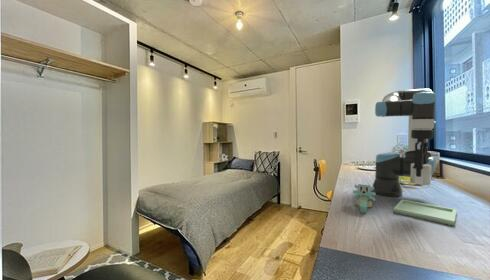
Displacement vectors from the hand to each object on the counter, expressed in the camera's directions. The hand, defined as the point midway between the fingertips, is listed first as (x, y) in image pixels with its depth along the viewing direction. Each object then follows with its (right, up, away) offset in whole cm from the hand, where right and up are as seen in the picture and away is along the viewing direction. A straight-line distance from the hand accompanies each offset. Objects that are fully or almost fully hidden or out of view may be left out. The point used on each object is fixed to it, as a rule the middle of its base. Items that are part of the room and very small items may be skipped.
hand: (420, 181), depth 98 cm
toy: (-20, -15, +8) cm, 26 cm away
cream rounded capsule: (0, 0, 0) cm, 0 cm away
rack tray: (+4, -14, +2) cm, 15 cm away
